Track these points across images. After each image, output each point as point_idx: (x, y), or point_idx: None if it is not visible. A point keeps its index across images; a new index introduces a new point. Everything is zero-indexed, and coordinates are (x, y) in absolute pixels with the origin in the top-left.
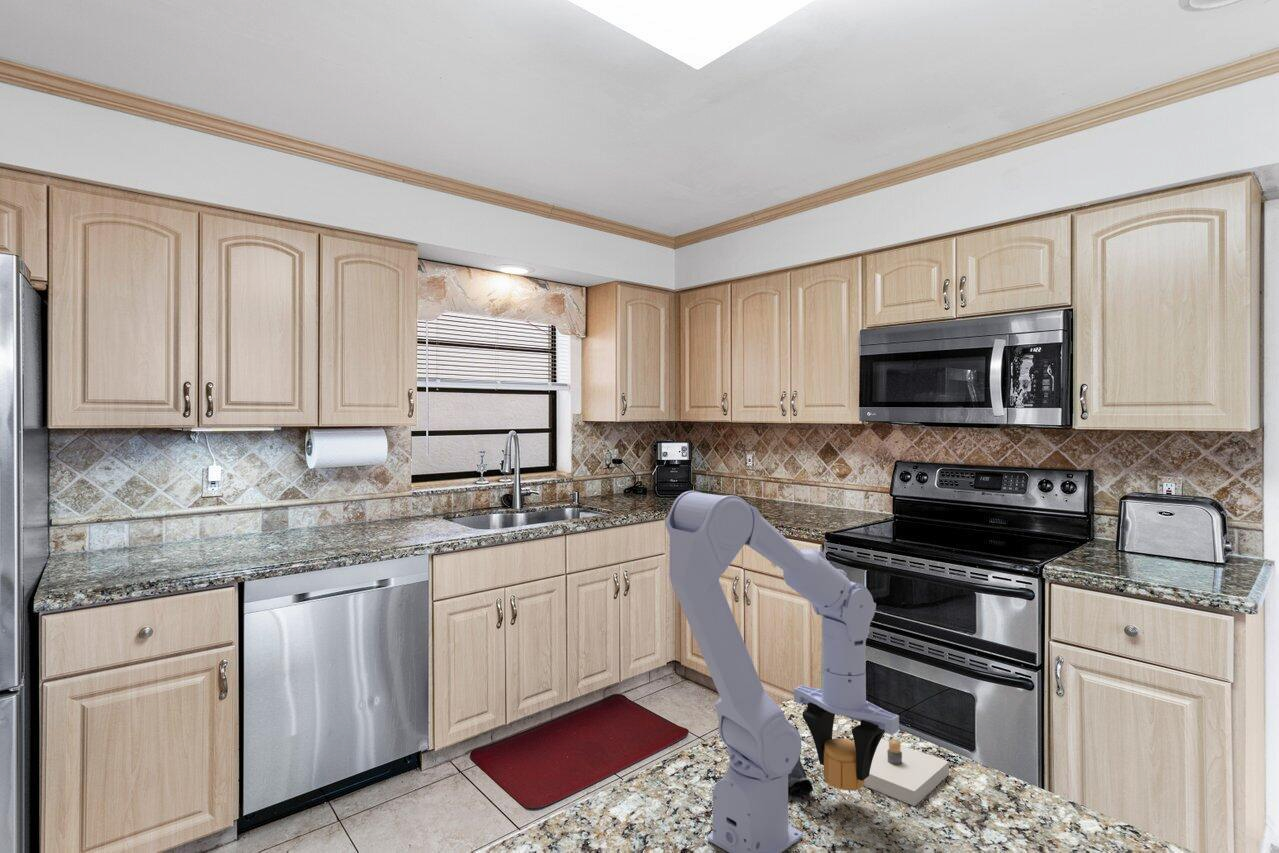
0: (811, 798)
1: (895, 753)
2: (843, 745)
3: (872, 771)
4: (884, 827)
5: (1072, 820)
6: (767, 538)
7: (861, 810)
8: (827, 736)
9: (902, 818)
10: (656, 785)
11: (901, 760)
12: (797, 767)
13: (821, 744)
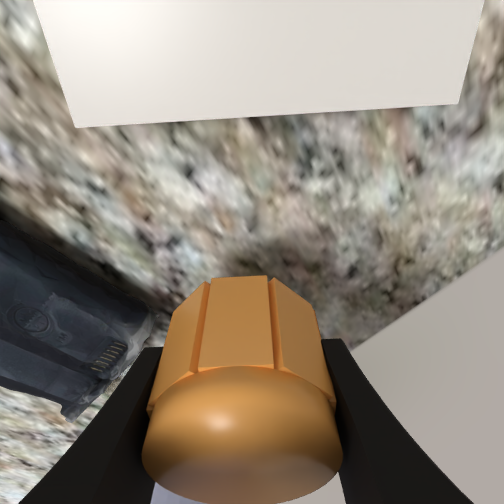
0: (160, 299)
1: None
2: (231, 456)
3: (227, 80)
4: (375, 275)
5: None
6: None
7: (289, 252)
8: (128, 477)
9: (406, 200)
10: None
11: None
12: (46, 302)
13: (151, 483)
